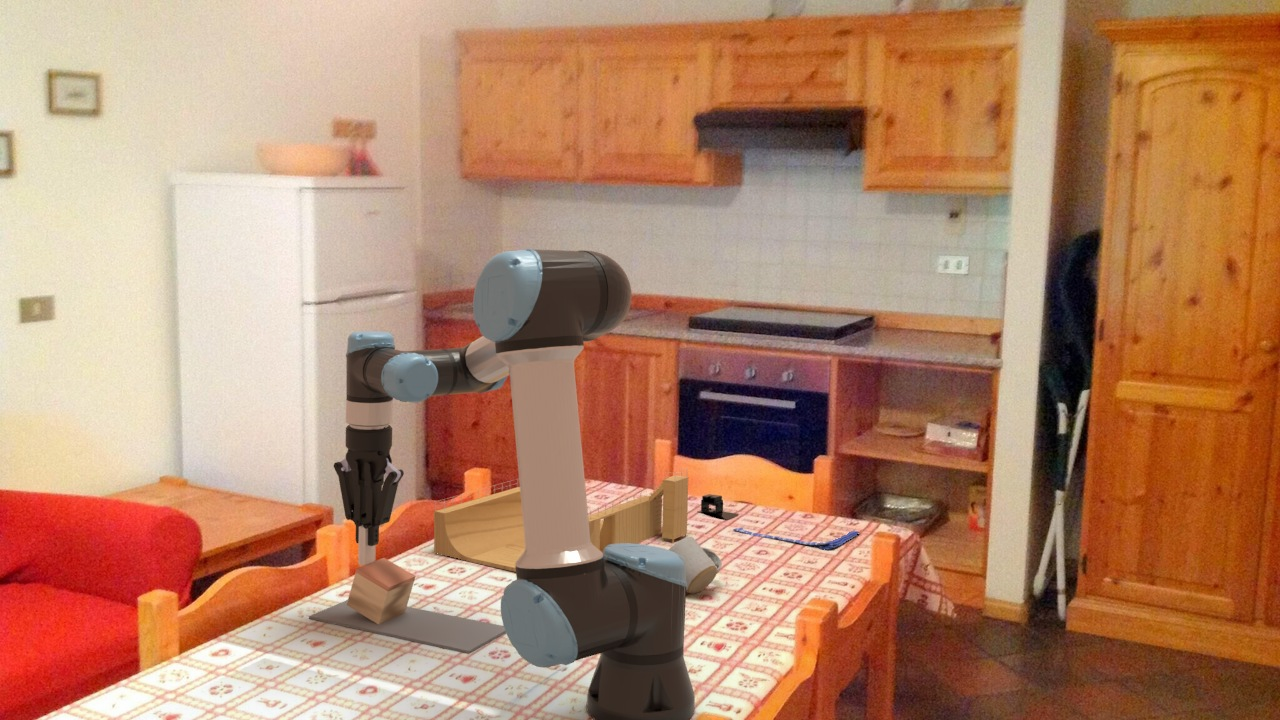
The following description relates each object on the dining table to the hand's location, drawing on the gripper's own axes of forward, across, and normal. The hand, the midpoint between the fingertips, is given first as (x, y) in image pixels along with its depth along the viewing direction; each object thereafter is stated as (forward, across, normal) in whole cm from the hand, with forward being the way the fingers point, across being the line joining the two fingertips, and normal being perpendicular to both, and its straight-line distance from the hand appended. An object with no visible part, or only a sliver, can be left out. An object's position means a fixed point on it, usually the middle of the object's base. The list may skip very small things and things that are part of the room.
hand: (366, 562), depth 191 cm
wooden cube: (+8, -2, 0) cm, 8 cm away
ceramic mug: (+8, -43, -41) cm, 60 cm away
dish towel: (+9, -48, -86) cm, 99 cm away
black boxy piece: (+10, -27, -91) cm, 95 cm away
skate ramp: (+10, -9, -52) cm, 54 cm away
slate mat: (+9, -9, 0) cm, 13 cm away
